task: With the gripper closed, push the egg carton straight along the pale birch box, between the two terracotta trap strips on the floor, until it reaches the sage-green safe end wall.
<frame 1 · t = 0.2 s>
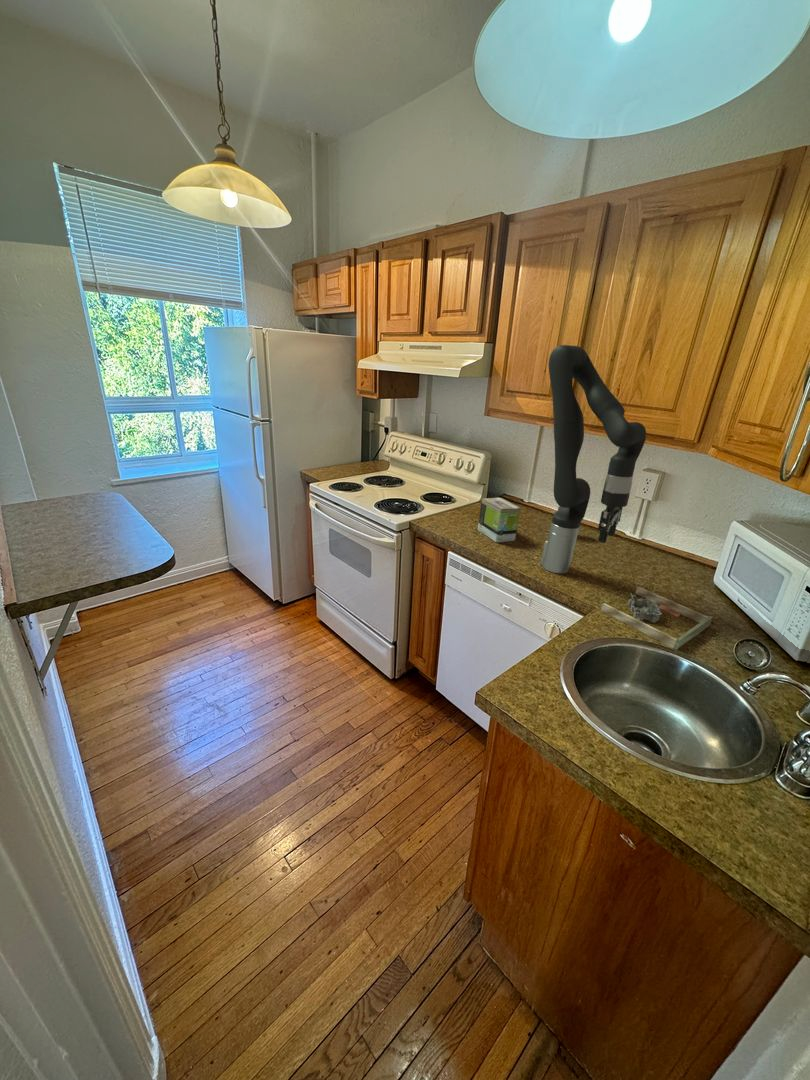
hand: (606, 538, 135), 18 cm above the countertop, tool pointing down, fingers open, 8 cm apart
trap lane: (652, 617, 126), on the countertop
beverage cup: (561, 534, 186), on the countertop
tea box: (495, 535, 180), on the countertop
egg carton: (642, 614, 129), on the countertop
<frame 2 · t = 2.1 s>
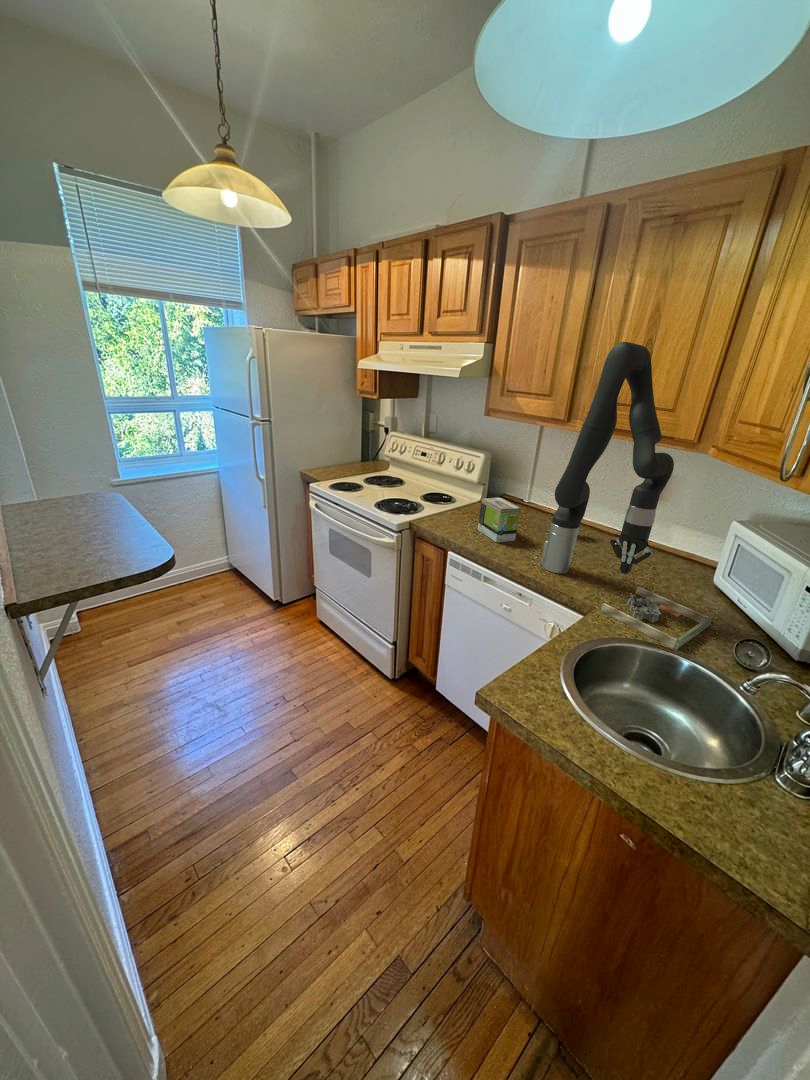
hand: (624, 572, 131), 10 cm above the countertop, tool pointing down, fingers closed
nothing on the countertop moved.
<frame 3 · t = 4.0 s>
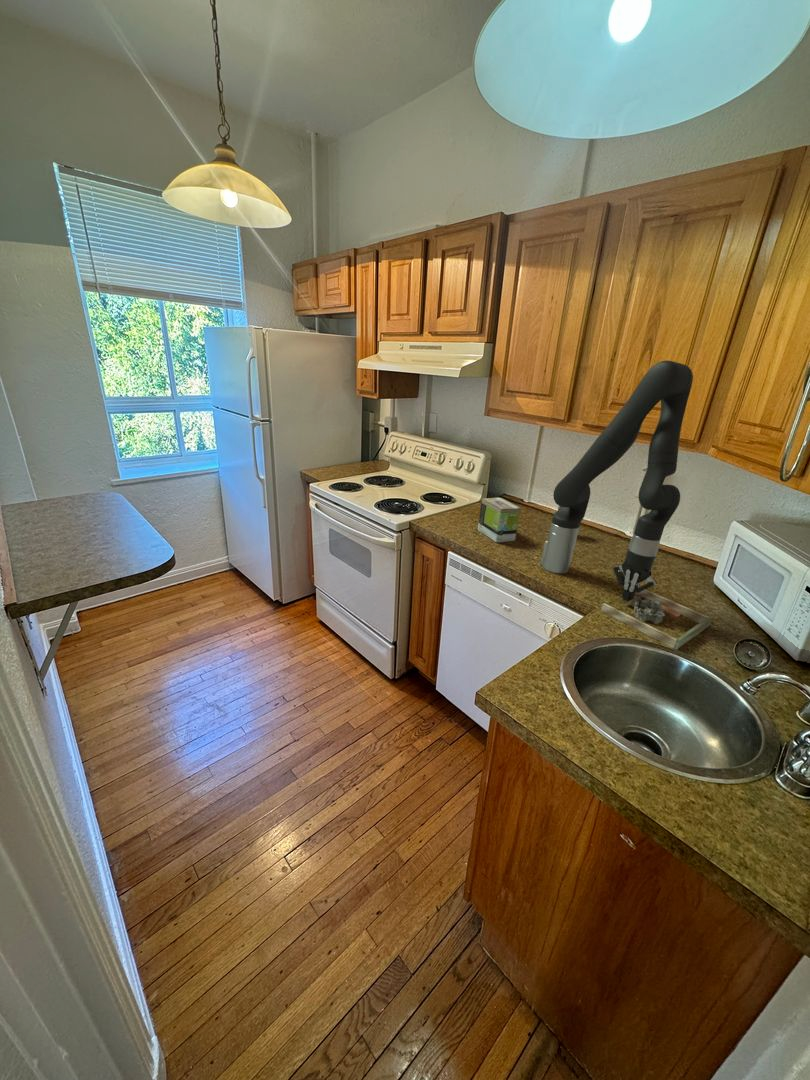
hand: (626, 600, 132), 2 cm above the countertop, tool pointing down, fingers closed
egg carton: (645, 615, 128), on the countertop
everything else where it was.
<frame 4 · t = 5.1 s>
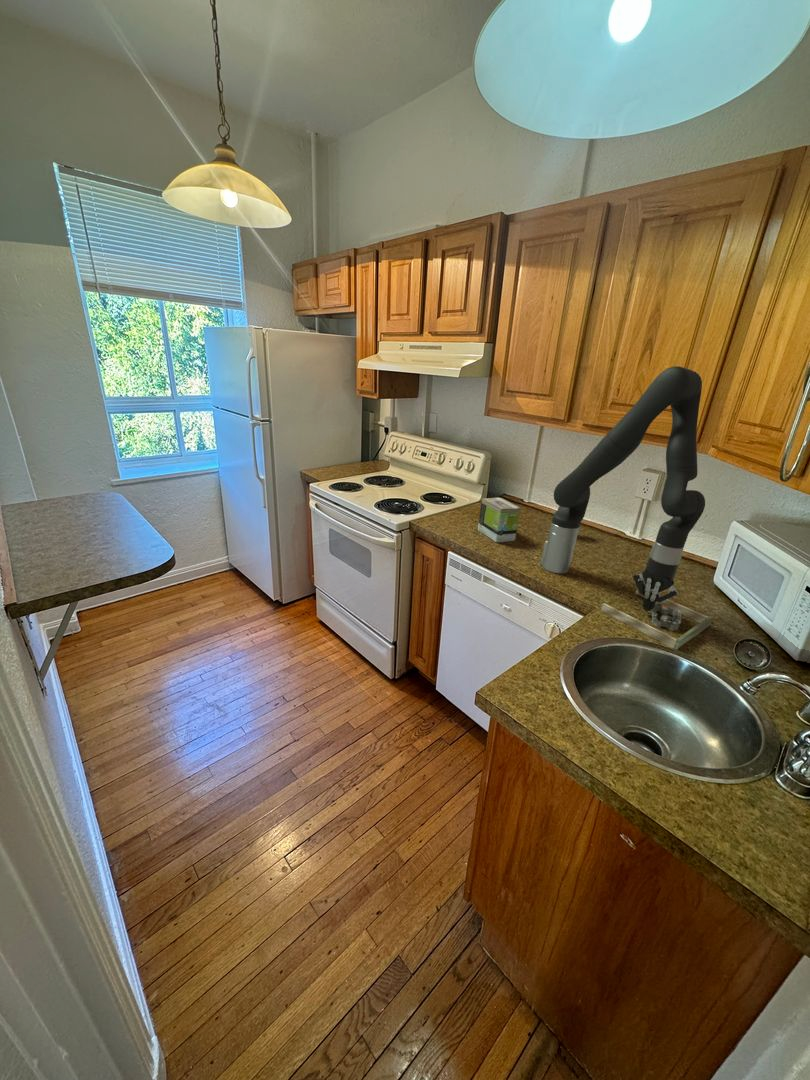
hand: (647, 609, 127), 2 cm above the countertop, tool pointing down, fingers closed
egg carton: (663, 622, 125), on the countertop
everything else where it was.
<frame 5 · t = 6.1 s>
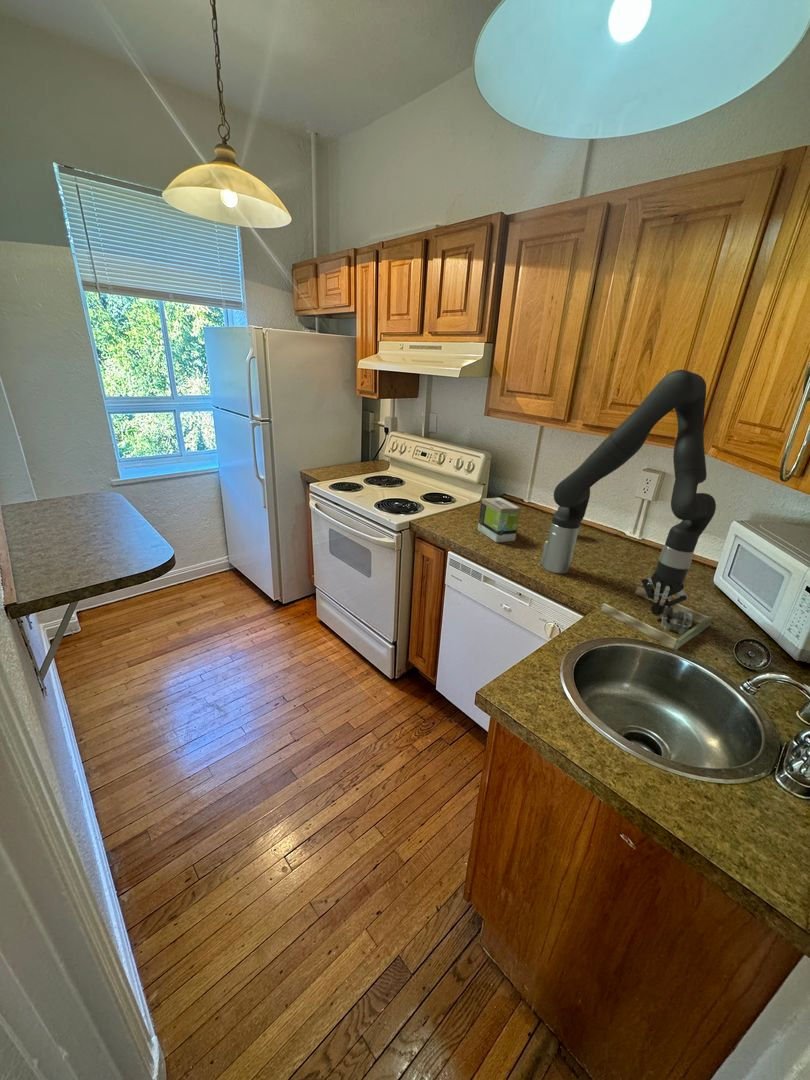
hand: (655, 614, 125), 2 cm above the countertop, tool pointing down, fingers closed
egg carton: (673, 625, 124), on the countertop
everything else where it was.
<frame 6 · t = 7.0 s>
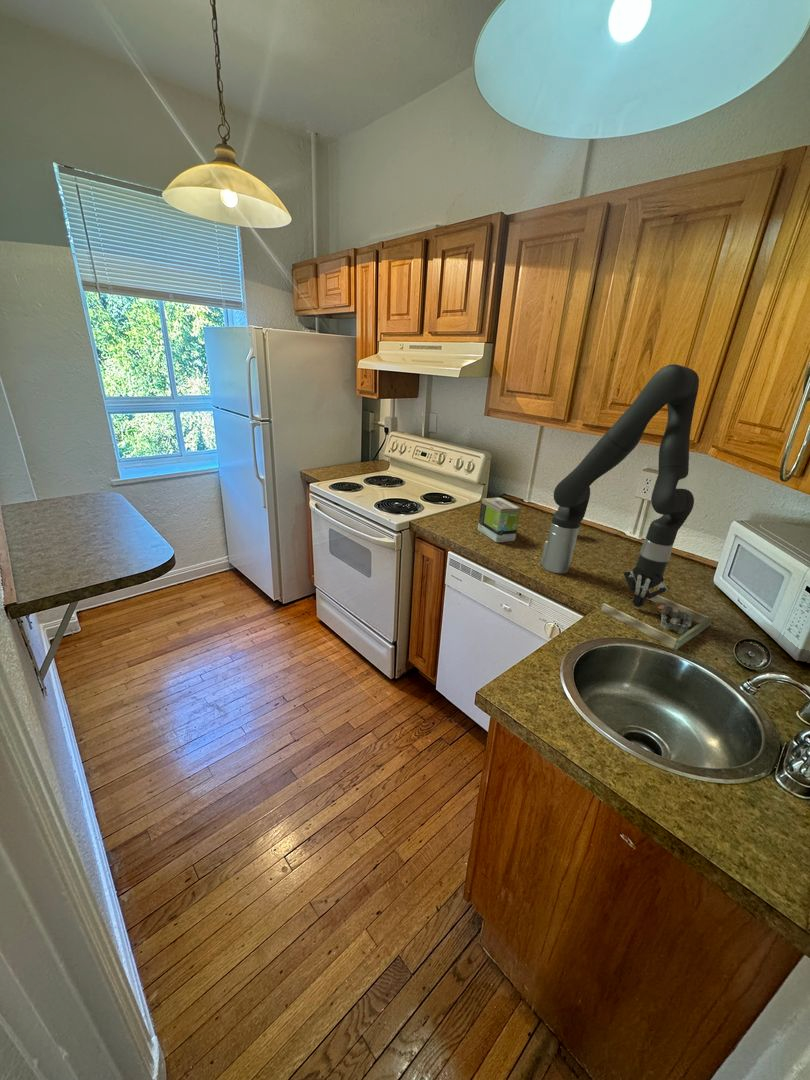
hand: (637, 605, 129), 1 cm above the countertop, tool pointing down, fingers closed
nothing on the countertop moved.
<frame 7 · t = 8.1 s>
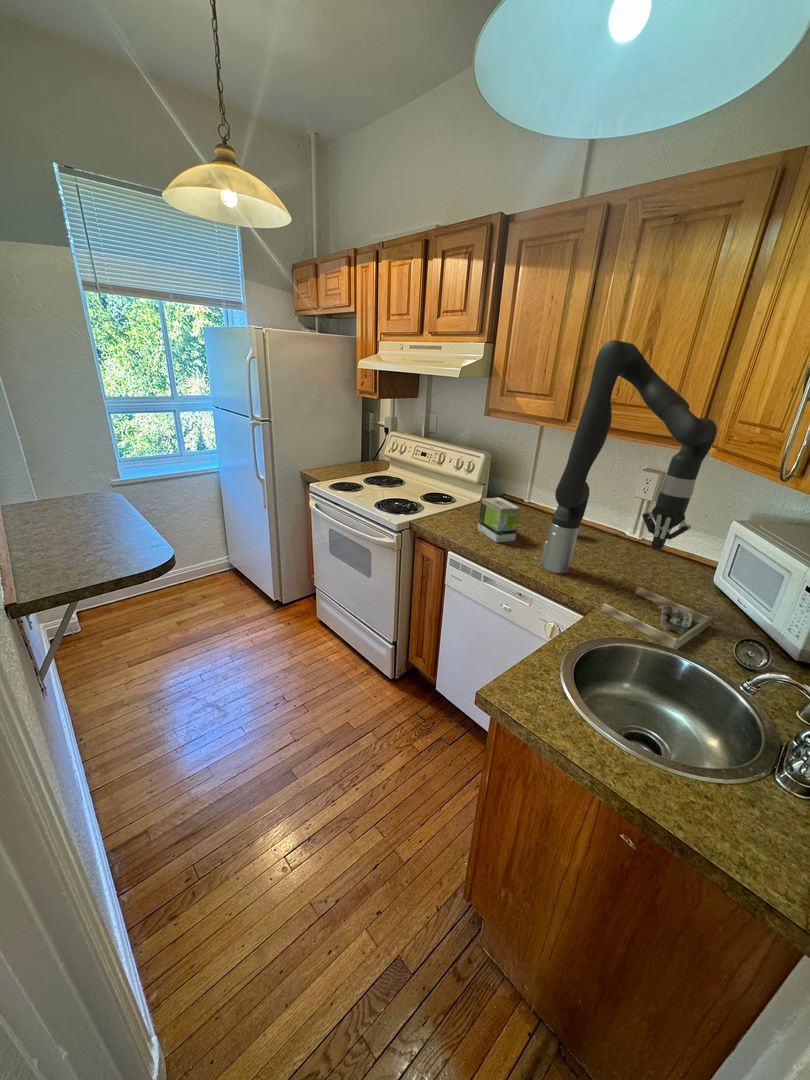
hand: (656, 549, 123), 20 cm above the countertop, tool pointing down, fingers closed
nothing on the countertop moved.
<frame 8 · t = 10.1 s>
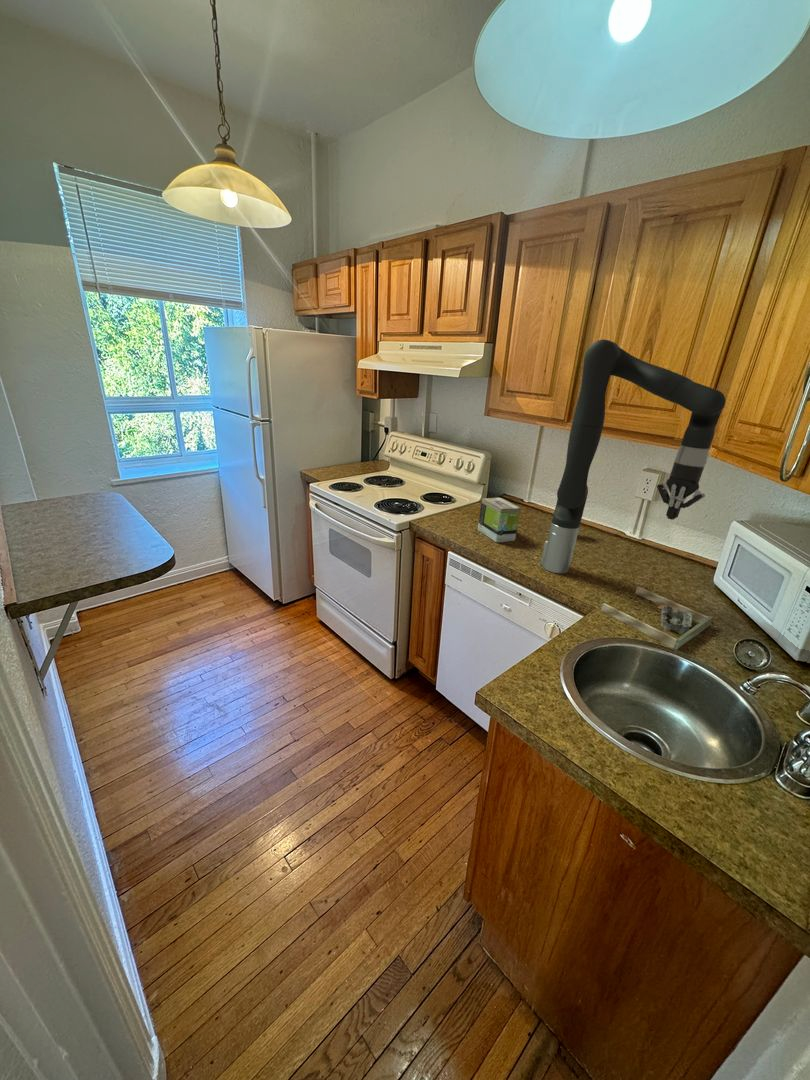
hand: (671, 518, 128), 27 cm above the countertop, tool pointing down, fingers closed
nothing on the countertop moved.
at the end: egg carton inside the target area (2.2 cm from its centre), on the countertop; egg carton tilted 0° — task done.
